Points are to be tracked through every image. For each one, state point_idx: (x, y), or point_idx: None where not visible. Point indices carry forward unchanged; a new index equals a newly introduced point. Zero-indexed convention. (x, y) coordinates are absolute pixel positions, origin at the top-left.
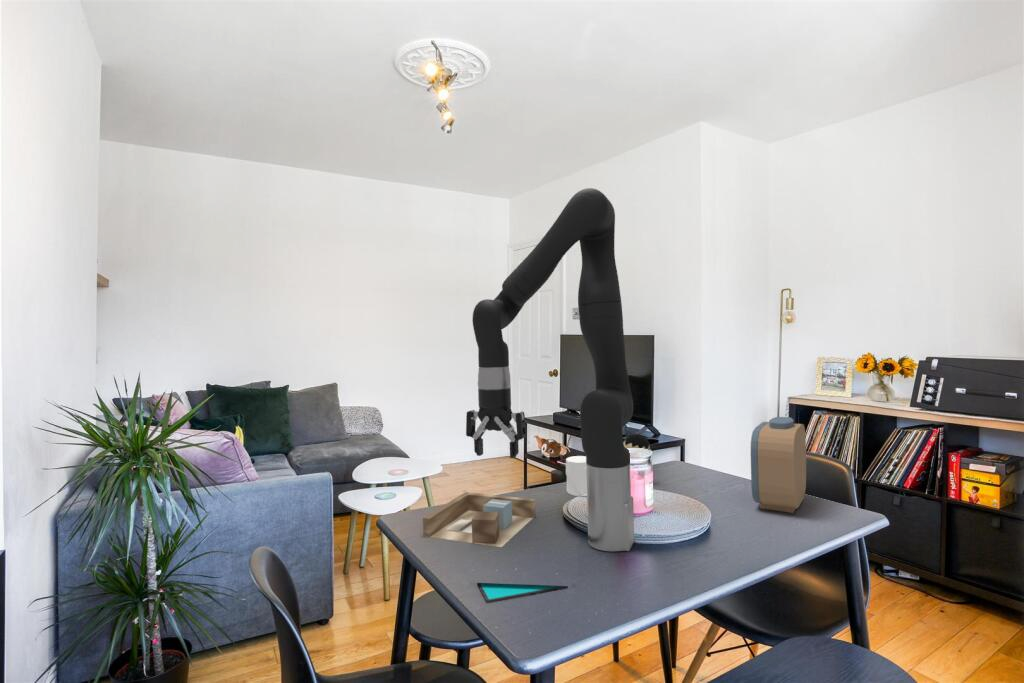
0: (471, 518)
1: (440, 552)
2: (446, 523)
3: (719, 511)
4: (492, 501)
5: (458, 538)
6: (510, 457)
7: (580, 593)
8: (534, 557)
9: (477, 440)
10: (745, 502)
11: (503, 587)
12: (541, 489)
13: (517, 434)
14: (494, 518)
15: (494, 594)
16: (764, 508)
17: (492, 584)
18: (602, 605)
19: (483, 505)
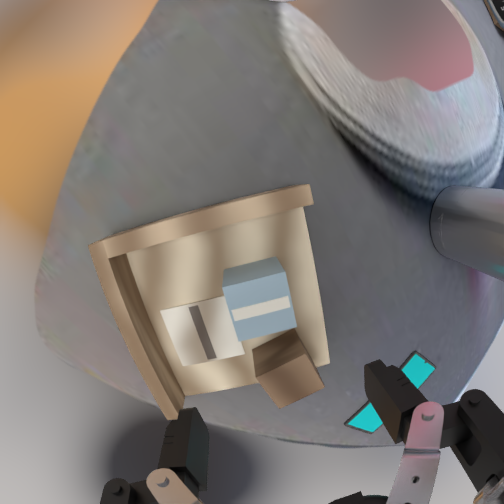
0: (172, 289)
1: (234, 404)
2: (160, 348)
3: (483, 39)
4: (237, 304)
5: (235, 379)
6: (367, 394)
7: (446, 365)
8: (380, 337)
9: (200, 490)
10: (478, 6)
11: (377, 414)
12: (172, 3)
13: (455, 451)
14: (319, 382)
15: (374, 425)
16: (497, 26)
17: (363, 418)
18: (462, 365)
19: (238, 340)
